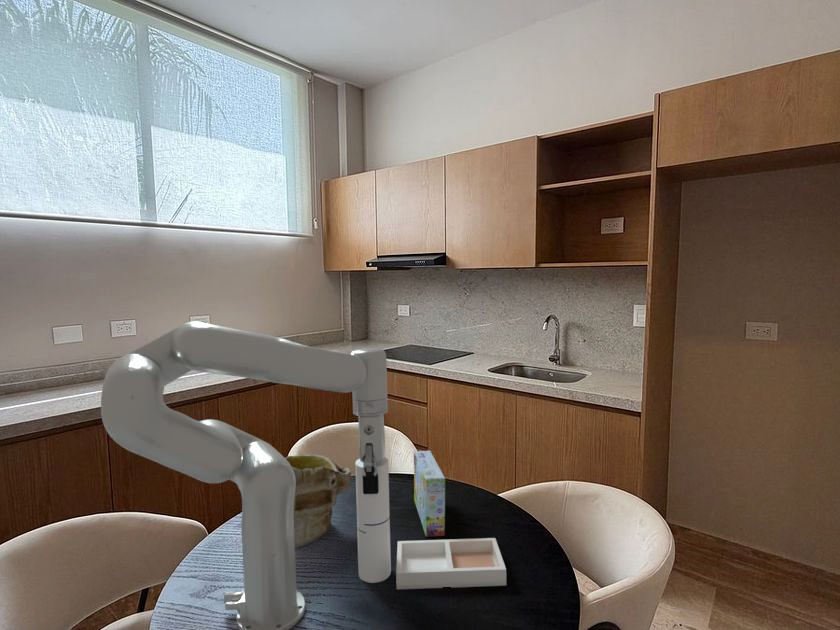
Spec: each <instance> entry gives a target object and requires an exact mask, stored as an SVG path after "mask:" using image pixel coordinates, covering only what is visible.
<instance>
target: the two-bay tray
mask: <svg viewBox="0 0 840 630" xmlns="http://www.w3.org/2000/svg"><path fill="white" fill-rule="evenodd" d="M396 549H397V550H396V567H395V575H396V577H395V579H396V581H395V583H396V590H417V589H418V590H419V589H443V587H451V588H473V587H474V588H475V587H479V588H480V587H500V586H503V587H505V586H507V568H506V565H505V562H504V559H503V556H502V553H501V550H500V548H499V545H498V541H497V539H496V537H486V538H485V537H482V538H481V537H480V538H458V539H457V538H455V539H452V538H451V539H427V540H426V539H424V540H397V548H396Z"/></svg>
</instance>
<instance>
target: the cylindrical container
mask: <svg viewBox="0 0 840 630" xmlns="http://www.w3.org/2000/svg"><path fill="white" fill-rule="evenodd" d="M372 460H375V458H372ZM363 463H364V462H361V461H360V458H358V459H356V461H355V464H354V465H355V467H354V468H355V492H356V493H355V497H356V498H355V499H356V530H357V531H356V532H357V534H356V535H357V562H358V567H357V568H358V577H359V579H360V580H361V581H363V582H365V583H369V584H375V583H376V584H377V583H380V582H384V581H385V580H387V579H388V578H389V577H390V575H391V574H392V573H391V572H392V564H391V562H392V559H391V556H392V555H391V553H392V552H391V526H390V525H391V522H390V521H391V520H390V517H391V515H390V487H389V486H390V484H389V483H390V477H389V459H388V458H387V457H385V456H384V460H383V461H382V462H380V461H377V474H378V488H379V491H378V494H364V493H363ZM372 466H373V467H374V464H372Z"/></svg>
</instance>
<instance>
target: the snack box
mask: <svg viewBox="0 0 840 630" xmlns="http://www.w3.org/2000/svg"><path fill="white" fill-rule="evenodd" d="M413 476H414V477H413V501H414V504H415V507H416V509H417V514H418V516H419V519H420V522H421V526H422V529H423V532H424V535H425V537H426V538H427V537H428V538H429V537H443V536H446V534H445V533H446V530H445V529H446V477H445V476H444V474H443V472H442V470H441V468H440V467H439V465H438V463H437V461H436V459H435V457H434V455H433V454H432V451H431V450H419V451H413Z"/></svg>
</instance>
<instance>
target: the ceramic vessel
mask: <svg viewBox="0 0 840 630" xmlns="http://www.w3.org/2000/svg"><path fill="white" fill-rule="evenodd" d="M284 458H285V459H286V460H287V461H288V462H289V464H290V465H291V467H292V469H293V471H294V474H295V479H296V491H295V500H294V535H295V549H298V548H301V547H304V546H308V545H309V544H310V543H312V542H314V541H317V540H318V539H320V538H321V537H323V536H324V535H325V534H326V533H327V532H328V531H329V529H330V527H331V525H332V515H333V507H334V506H335V505H336V504H337V499H338V497H337V496H339V495H342V494H346V493H347V492H348V491H349V489H350V487H351V477H352V476H351V475H352V472H351V470H350V467H346V466H345V467H344V466H342V467H341V466H339V465H337V464H336V463H335V461H333V460H332V459H331V458H330V457H328V456H326V455H321V454H314V453H310V454H297V455H289V456H286V457H284Z"/></svg>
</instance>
